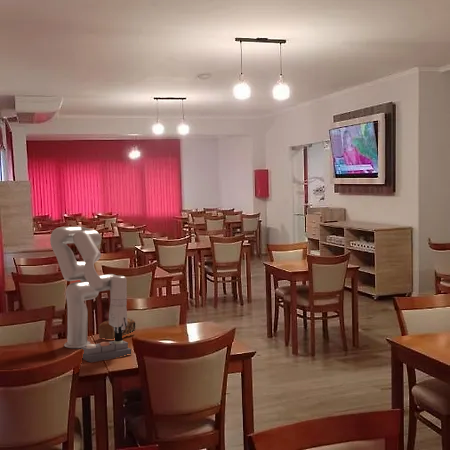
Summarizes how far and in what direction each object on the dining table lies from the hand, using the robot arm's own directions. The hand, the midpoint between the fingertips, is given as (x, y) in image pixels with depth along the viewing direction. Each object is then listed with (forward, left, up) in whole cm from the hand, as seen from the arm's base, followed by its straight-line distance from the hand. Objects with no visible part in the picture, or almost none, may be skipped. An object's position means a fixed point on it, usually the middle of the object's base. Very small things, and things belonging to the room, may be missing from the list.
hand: (118, 340), depth 284 cm
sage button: (0, 0, -3) cm, 3 cm away
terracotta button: (0, -7, -3) cm, 7 cm away
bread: (-31, +17, -7) cm, 36 cm away
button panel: (0, -7, -6) cm, 9 cm away
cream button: (0, -14, -3) cm, 14 cm away
